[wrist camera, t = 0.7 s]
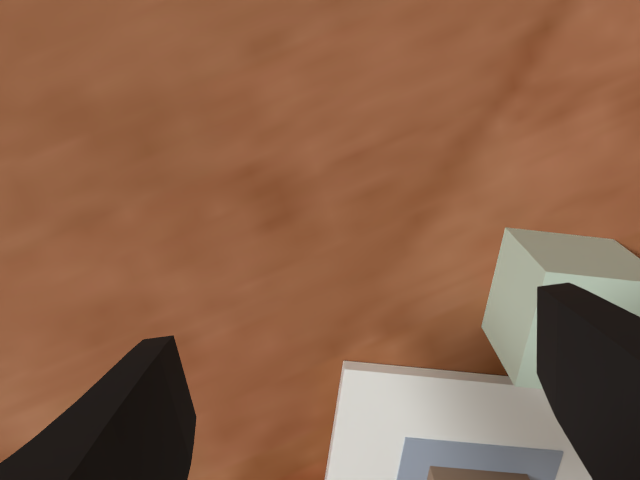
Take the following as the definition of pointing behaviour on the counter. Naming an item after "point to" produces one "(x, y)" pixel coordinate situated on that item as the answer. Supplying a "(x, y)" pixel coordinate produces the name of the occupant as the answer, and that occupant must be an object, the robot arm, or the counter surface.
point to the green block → (547, 269)
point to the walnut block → (471, 474)
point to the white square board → (443, 426)
